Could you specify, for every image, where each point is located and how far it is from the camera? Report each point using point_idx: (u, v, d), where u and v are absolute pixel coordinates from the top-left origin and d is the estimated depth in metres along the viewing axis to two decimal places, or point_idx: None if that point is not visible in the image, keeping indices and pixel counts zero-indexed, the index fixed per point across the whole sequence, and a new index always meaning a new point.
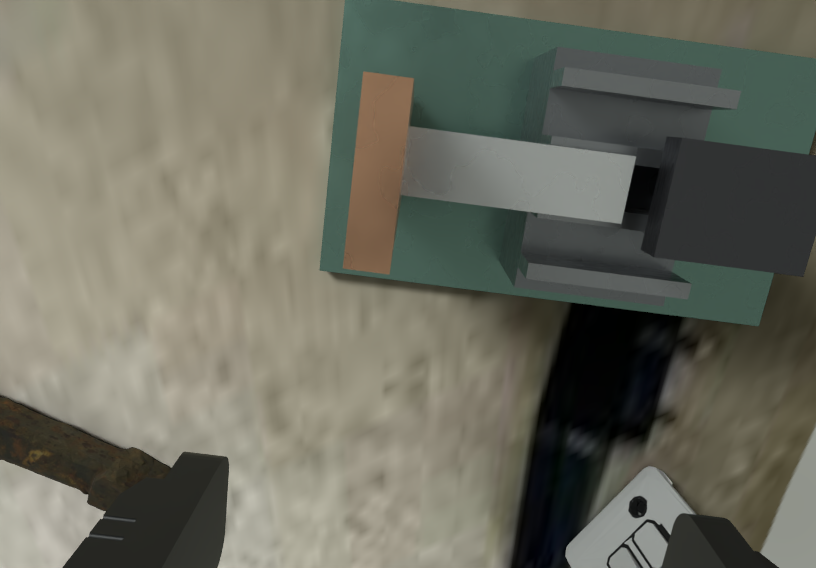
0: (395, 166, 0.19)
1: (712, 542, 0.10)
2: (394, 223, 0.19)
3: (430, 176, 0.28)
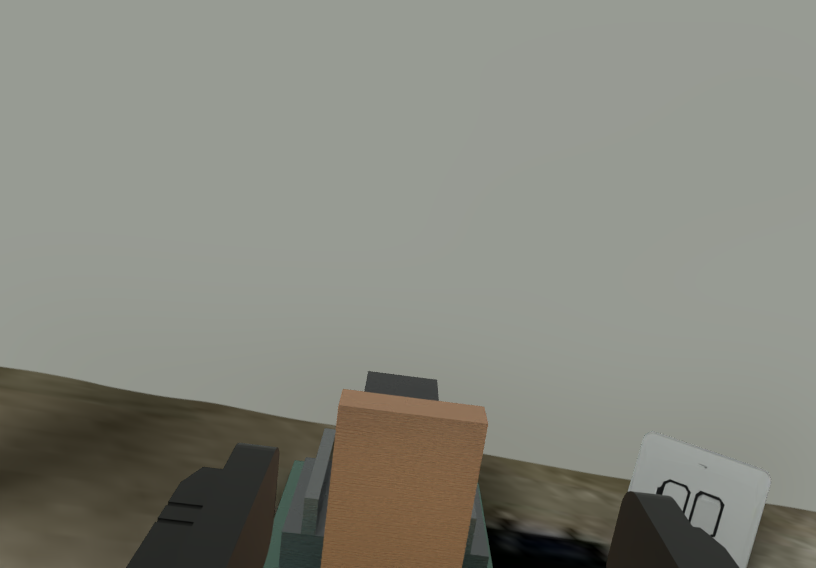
0: (404, 399, 0.26)
1: (653, 517, 0.10)
2: (445, 402, 0.26)
3: None
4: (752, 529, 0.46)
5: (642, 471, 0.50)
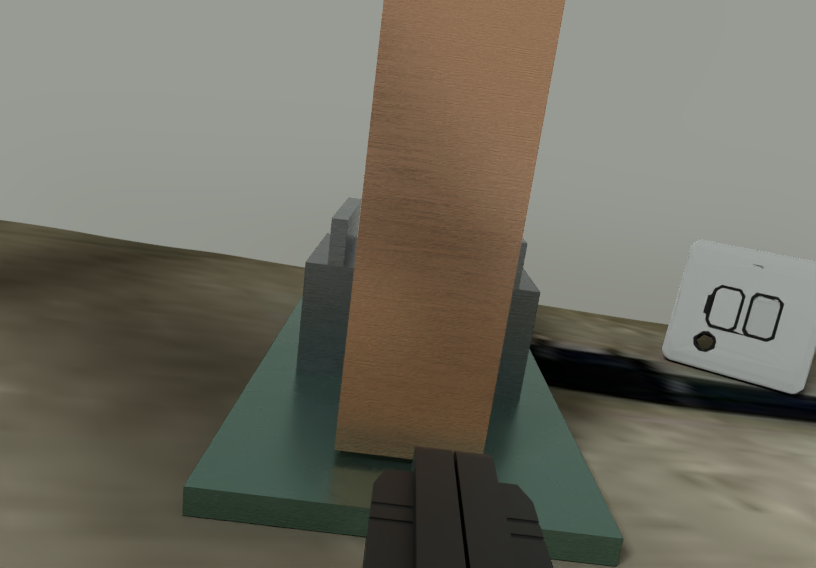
0: None
1: (464, 472, 0.11)
2: None
3: None
4: None
5: (690, 280, 0.46)
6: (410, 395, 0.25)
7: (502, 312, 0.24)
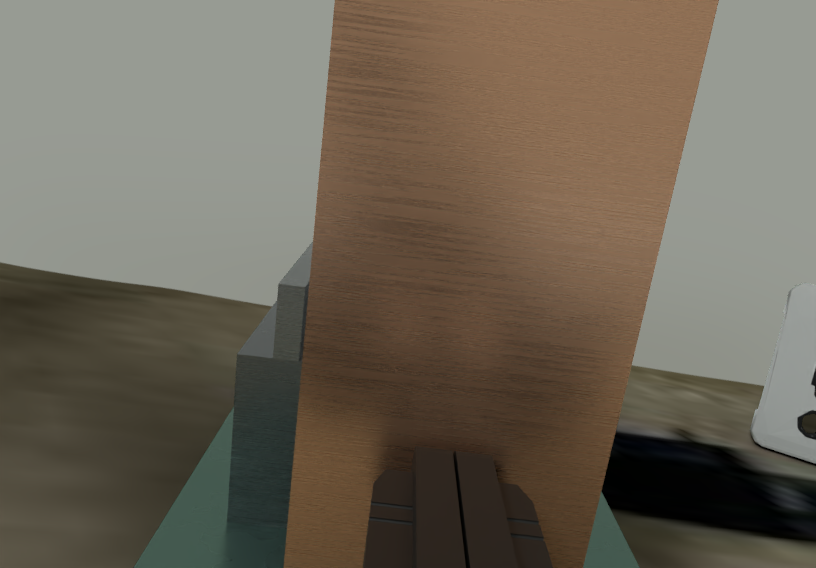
0: None
1: (463, 472, 0.11)
2: None
3: None
4: None
5: (792, 339, 0.34)
6: None
7: (587, 494, 0.12)
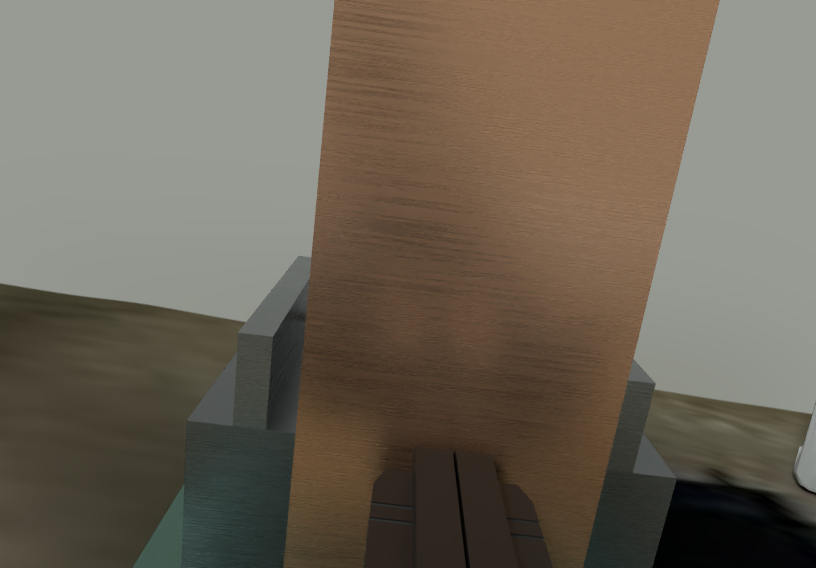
0: None
1: (463, 472, 0.11)
2: None
3: None
4: None
5: None
6: None
7: (587, 495, 0.12)
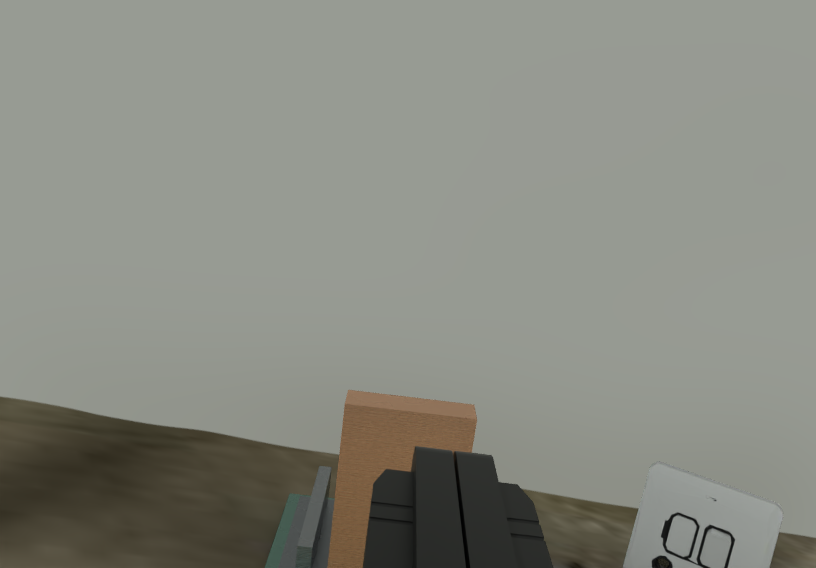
0: (402, 398, 0.29)
1: (464, 472, 0.11)
2: (439, 401, 0.29)
3: None
4: (764, 565, 0.44)
5: (649, 503, 0.48)
6: None
7: None
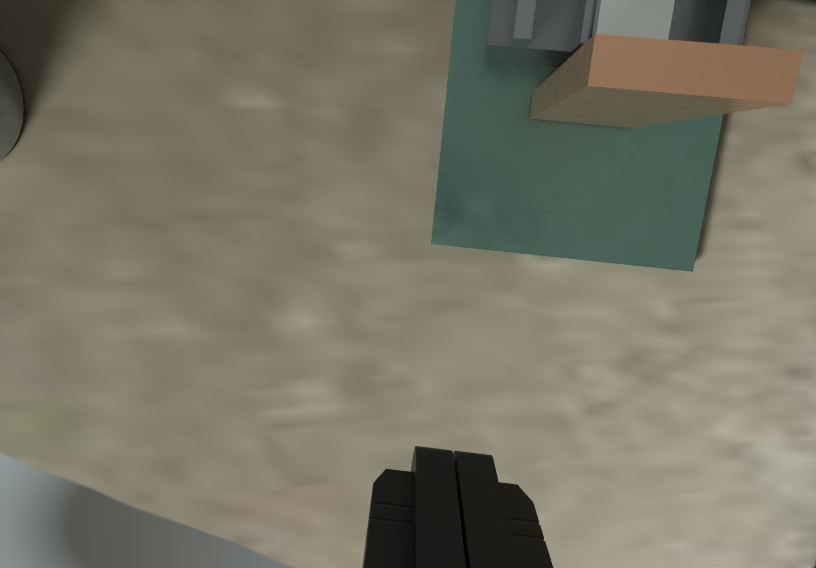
0: (682, 49, 0.18)
1: (464, 472, 0.11)
2: (744, 47, 0.18)
3: None
4: None
5: None
6: (585, 120, 0.34)
7: (664, 121, 0.30)
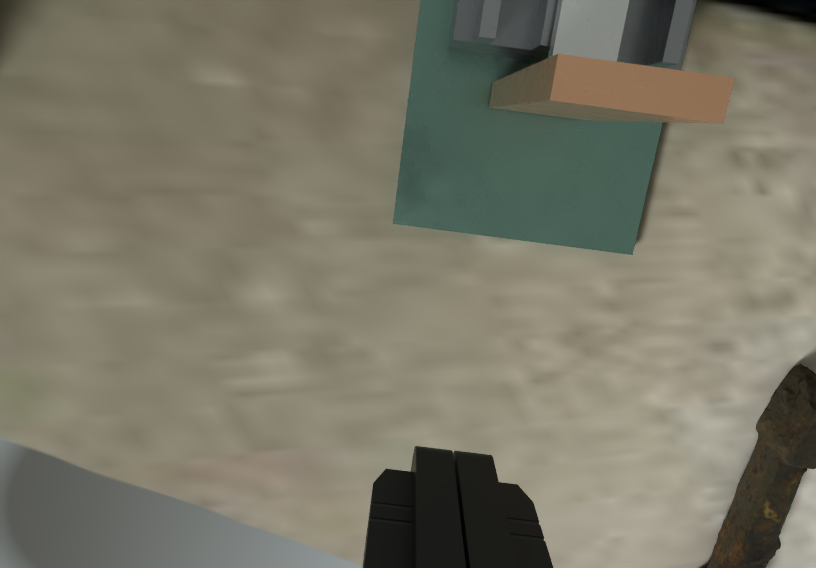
0: (633, 71, 0.21)
1: (464, 472, 0.11)
2: (686, 72, 0.21)
3: (596, 54, 0.29)
4: None
5: None
6: (541, 113, 0.36)
7: (613, 120, 0.32)
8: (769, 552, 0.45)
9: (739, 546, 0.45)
